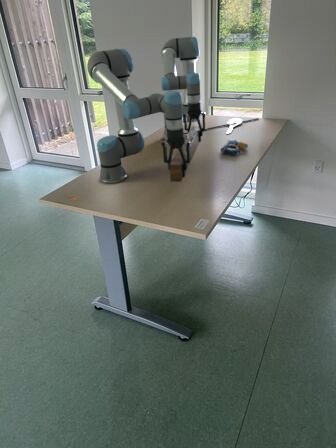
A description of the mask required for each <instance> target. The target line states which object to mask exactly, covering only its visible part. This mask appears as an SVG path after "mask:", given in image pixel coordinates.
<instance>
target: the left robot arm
mask: <svg viewBox="0 0 336 448" xmlns="http://www.w3.org/2000/svg"><path fill="white" fill-rule="evenodd" d="M86 64H87V65H86V68H87V73H88V75H89V77H90V78H91V79H92V80H93V82H95V83H96V84H100V85H101V86H102V88H103V89H104V90H106V92H108V94H110V96H111V97H113V100H114V104H115V110H116V116H117V122H118V127H119V130H118V131H117V135H115V134H114V135H113V134H111V135H106V136H103V137H102V138H100V139H98V141H97V143H96V148H97V149H96V150H97V154H98V158H99V163H100V173H99V180H100V183H102V184H107V185H112V184H119V183H122V182H124V181H125V180H126V179H127V178H128V174H127V172H126V169H125V168H124V166H123V164H122V159H124V158H127V157H130V156H133V155H137V154H139V153H142V152H143V150H144V148H145V137H144V136H143V134H142V133H141V131H139V128H137V127H136V123H135V120H136V119H139V118H142V117H146V116H150V115H154V114H158V113H162V114H164V113H165V114H166V126H167V128H168V129H167V140H162V142H161V143H160V144H161V146H162V155H163V163H164V164H167V169H168V171H170V165H169V164H170V163H171V161H172V159H173V155H174V150H175V149H176V150H178V149H179V151H180V154H181V157H182V160H183V164H182V173H183V178H186V173H185V170H186V171H187V170H188V168H187V163H190V164H191V162H192V160H191V158H190V143H191V141H186V140H185V134H184V133H185V129H184V123H183V112H182V106H183V105H182V103H183V99H182V98H183V96H182V93H181V92H180V90H170V91H165V92H164V94H161V93H150V95H149V96H145V97H142V98H139V97H138V96H136V94H135V93H134V92H133V91H132V90H131V89H130V84H129V80H130V79H131V73H132V72H133V71H134V62H133V58H132V55H131V54H130V53H129V51H128V50H126V49H125V48H114V49H107V50H99V51H96V52H93V53H92V54H91V55H90V56H89V58H88V60H87V63H86ZM184 143H185V145H186V153H187V160H186V157H185V154H184V150H183V146H182V145H183V144H184ZM168 146H169V147H170V148H169V153H168ZM190 161H191V162H190Z"/></svg>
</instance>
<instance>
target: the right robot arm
mask: <svg viewBox="0 0 336 448" xmlns="http://www.w3.org/2000/svg"><path fill="white" fill-rule="evenodd" d="M160 55H161V56H160V57H161V59H162V62H163V64H162V65H163V77H161V78H160V85H161V90H162V91H164V92H168V91H180V90H183V98H184V99H183V101H182V112H183V129H184V131H187V132H184V135H187V134H188V132H189V131H190V129H191V127H192V123H197V126H199V129H200V130H199V143H201V142H202V137H203V135H204V134H203V133H204V131H207V130H213V129H216V128H222V127H227V126H229V125H228V123H227V124H221V125H216V126H212V127H206V126H207V125H206V115H207V113H206V112H203V111H202V105H201V75H200V73H198V72H196V62H197V61H198V57H200V46H199V41H198V38H197V36H185V37H174V38H171V39H169V40H168V41H166V42H165V44H164V45H163V46H162V48H161V52H160ZM176 59H179V62H180V63H181V64H182V75H177V68H176ZM201 117H202V122H201ZM258 120H260V118H259V117H257V118H252V119H248V120H242V122H241V124H243V123H247V122H252V121H258ZM163 121H164V130H163V135H162V139H163V141H167V129H168V128H167V126H166V114H165V113H163ZM236 123H238V122H236ZM236 123H231V124H236Z"/></svg>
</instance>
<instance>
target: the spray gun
mask: <svg viewBox="0 0 336 448" xmlns="http://www.w3.org/2000/svg"><path fill="white" fill-rule="evenodd" d="M248 147H249V145H248V143H246V142H243V141H238V140H236V139H234V140H228V139H227V142H226V143H225V144H224V145H223V146H222V147H221V149H220V153H221V154H223V155H225V154H226V155H230V156H238V155H240V154H241V152H242V150H243V151H247V149H248Z"/></svg>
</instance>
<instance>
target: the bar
mask: <svg viewBox="0 0 336 448" xmlns="http://www.w3.org/2000/svg"><path fill="white" fill-rule="evenodd" d="M199 130H200V129H199V125H191V128H190V131H189V132H188V131H187V133H188V134H186V136H185V137H184V139H185V140H186V141H191V143H190V158H191V161H190V163H187V169H189V166H190V164H191V162H192V160H193V158H194V155H195V153H196V151H197V149H198V147H199V144H200V142H199ZM182 146H183V150H184V154H185V157H186V160H187V153H186V145H185V143H184V144H183V145H182ZM182 164H183V160H182V157H181V154H180V151H179V149H177V151H176V152H175V154H174V156H173V157H172V160H171V163H170V164H169V165H170V170H169V176H170V182H171V183H172V182H173V183H182V181H183V179H184V177H183V173H182ZM186 173H187V170H185V174H186Z"/></svg>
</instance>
